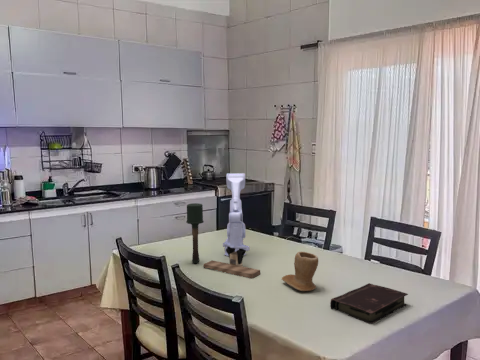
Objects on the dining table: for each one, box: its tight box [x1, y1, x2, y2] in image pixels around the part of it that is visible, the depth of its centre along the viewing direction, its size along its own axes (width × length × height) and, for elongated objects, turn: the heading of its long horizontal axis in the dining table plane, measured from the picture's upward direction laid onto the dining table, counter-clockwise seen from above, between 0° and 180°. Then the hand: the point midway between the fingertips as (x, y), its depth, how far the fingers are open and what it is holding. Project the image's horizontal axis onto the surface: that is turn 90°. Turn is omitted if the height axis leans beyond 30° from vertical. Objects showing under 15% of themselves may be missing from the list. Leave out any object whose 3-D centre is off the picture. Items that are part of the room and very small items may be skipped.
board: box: [202, 260, 261, 279], centre depth 207 cm, size 28×7×2 cm, turn 57°
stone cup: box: [281, 251, 319, 292], centre depth 186 cm, size 15×12×15 cm
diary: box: [329, 283, 409, 324], centre depth 165 cm, size 19×25×5 cm
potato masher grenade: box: [186, 202, 205, 264], centre depth 218 cm, size 8×9×30 cm
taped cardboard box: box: [229, 251, 243, 266], centre depth 213 cm, size 4×5×6 cm
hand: (236, 262), depth 213 cm, fingers closed on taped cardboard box, 4 cm apart
